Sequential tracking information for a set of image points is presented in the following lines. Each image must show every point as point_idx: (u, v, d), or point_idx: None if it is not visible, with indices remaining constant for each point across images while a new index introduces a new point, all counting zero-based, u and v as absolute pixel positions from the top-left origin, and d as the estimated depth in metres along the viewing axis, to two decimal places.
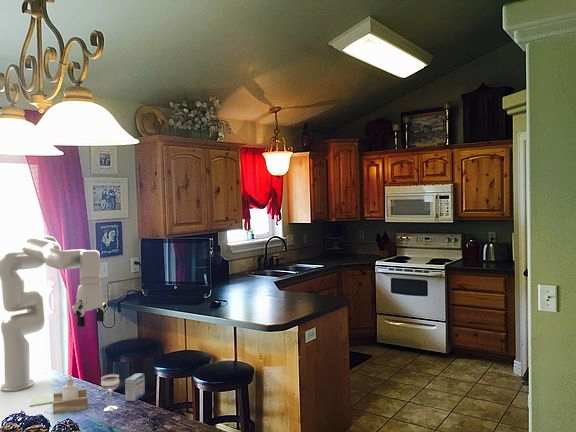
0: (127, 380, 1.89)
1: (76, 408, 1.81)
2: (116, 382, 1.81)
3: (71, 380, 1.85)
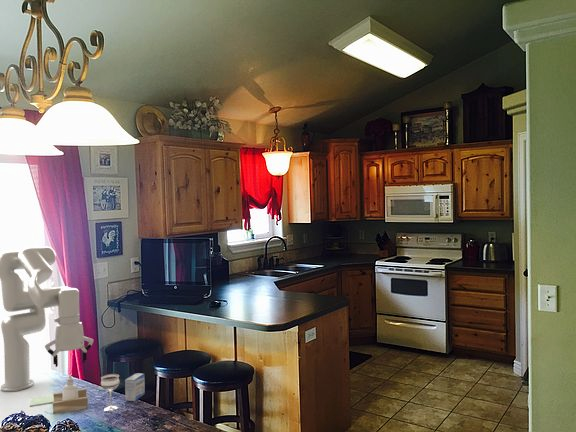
0: (127, 380, 1.89)
1: (76, 408, 1.81)
2: (116, 382, 1.81)
3: (71, 380, 1.85)
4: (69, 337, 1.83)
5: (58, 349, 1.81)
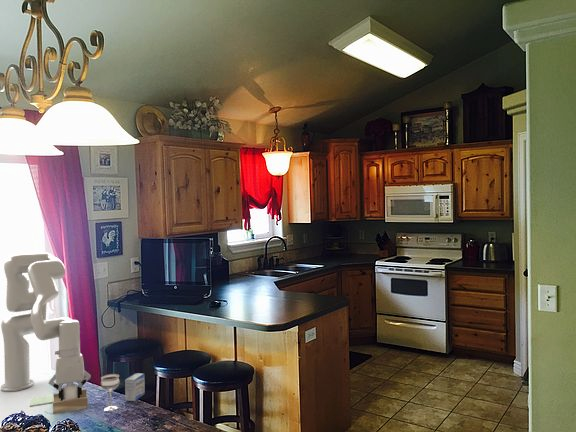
0: (127, 380, 1.89)
1: (76, 408, 1.81)
2: (116, 382, 1.81)
3: None
4: (69, 370, 1.83)
5: (58, 382, 1.81)
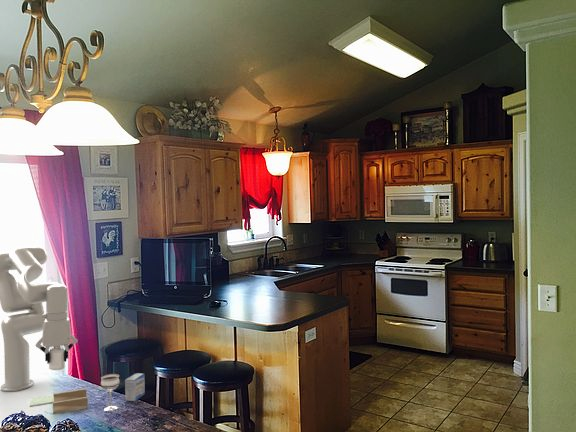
0: (127, 380, 1.89)
1: (76, 408, 1.81)
2: (116, 382, 1.81)
3: None
4: (56, 333, 1.86)
5: (45, 344, 1.84)
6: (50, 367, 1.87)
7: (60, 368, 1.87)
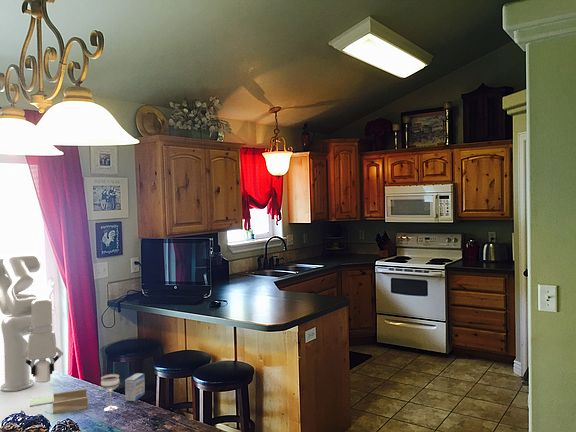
0: (127, 380, 1.89)
1: (76, 408, 1.81)
2: (116, 382, 1.81)
3: None
4: (41, 346, 1.88)
5: (30, 358, 1.87)
6: (36, 380, 1.90)
7: (46, 381, 1.89)
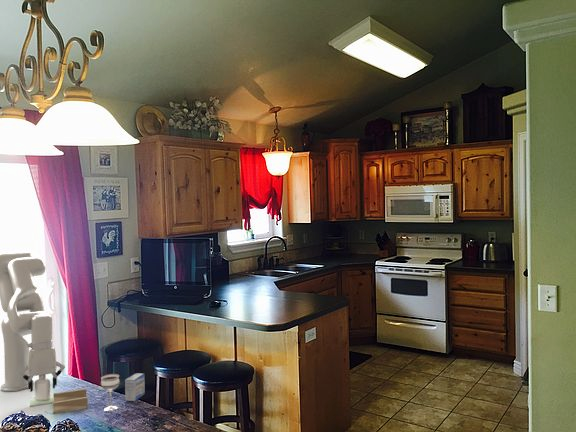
0: (127, 380, 1.89)
1: (76, 408, 1.81)
2: (116, 382, 1.81)
3: None
4: (41, 362, 1.89)
5: (30, 374, 1.87)
6: (36, 398, 1.90)
7: (46, 399, 1.90)
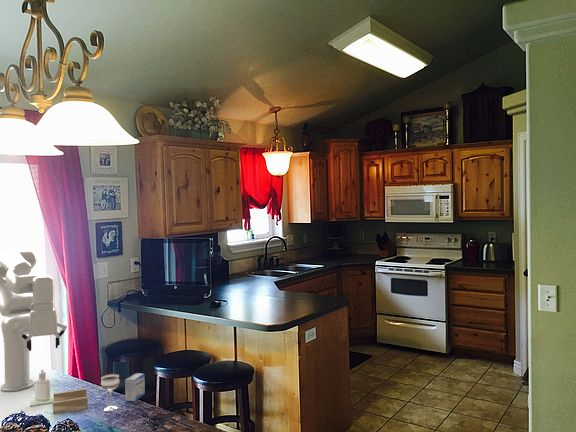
0: (127, 380, 1.89)
1: (76, 408, 1.81)
2: (116, 382, 1.81)
3: (43, 374, 1.90)
4: (42, 323, 1.89)
5: (31, 334, 1.87)
6: (36, 398, 1.90)
7: (46, 399, 1.90)
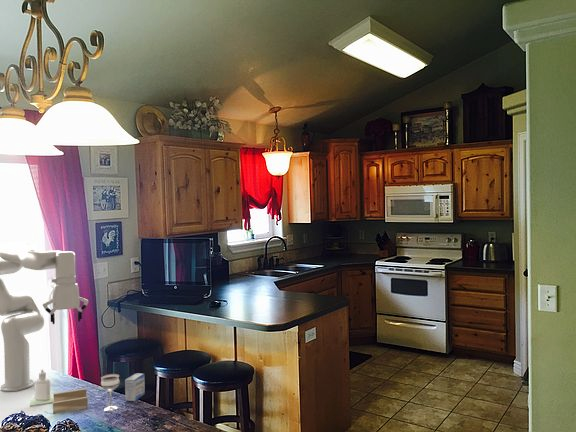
0: (127, 380, 1.89)
1: (76, 408, 1.81)
2: (116, 382, 1.81)
3: (43, 374, 1.90)
4: (65, 297, 1.94)
5: (55, 307, 1.93)
6: (36, 398, 1.90)
7: (46, 399, 1.90)
